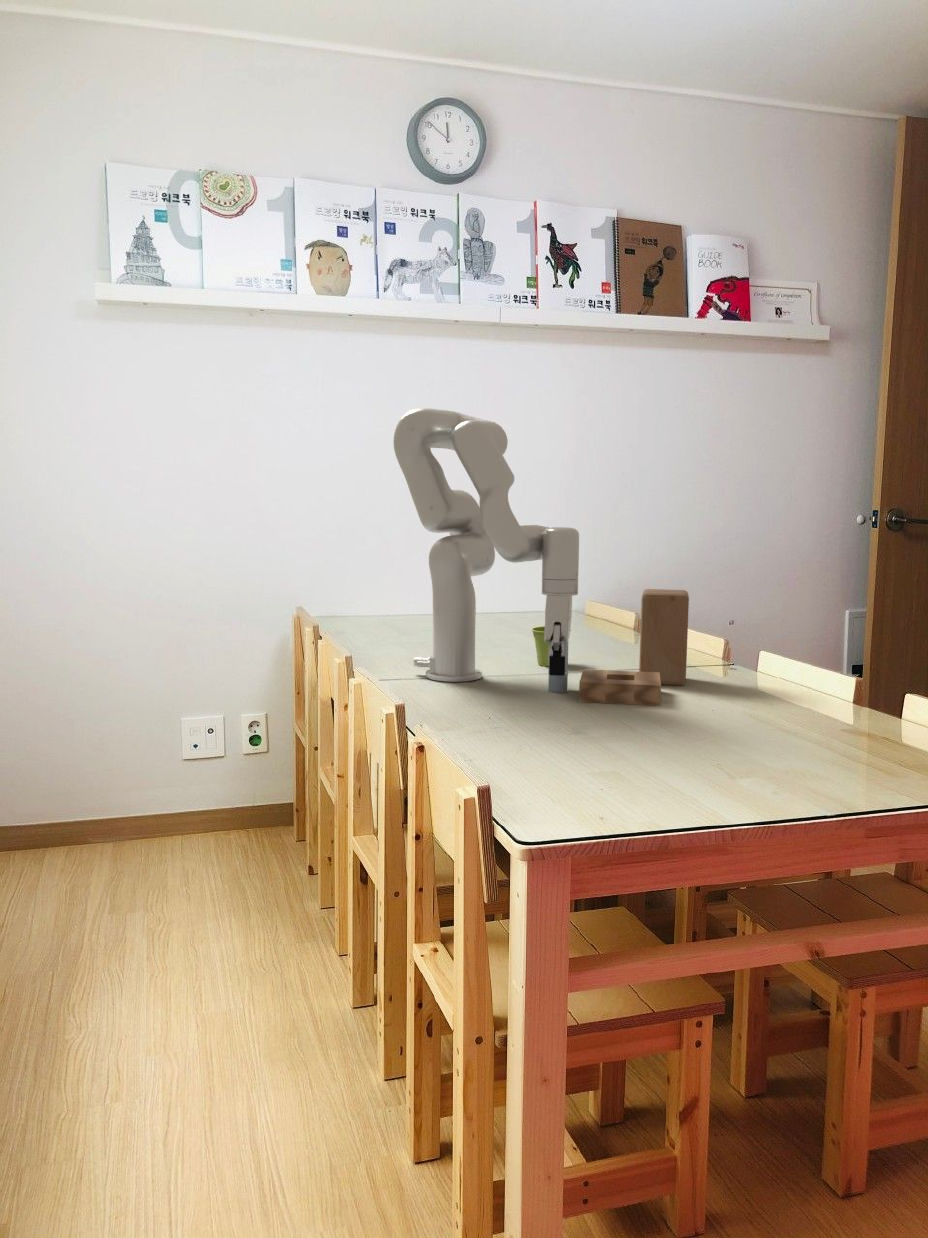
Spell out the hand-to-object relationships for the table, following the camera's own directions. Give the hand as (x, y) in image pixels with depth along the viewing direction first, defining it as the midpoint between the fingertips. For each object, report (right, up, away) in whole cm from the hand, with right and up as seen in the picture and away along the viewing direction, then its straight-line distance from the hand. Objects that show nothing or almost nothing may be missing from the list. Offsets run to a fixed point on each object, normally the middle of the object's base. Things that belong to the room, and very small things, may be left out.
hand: (558, 671), depth 213 cm
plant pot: (+1, 0, +31) cm, 31 cm away
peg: (0, -4, +1) cm, 4 cm away
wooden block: (+24, -3, +12) cm, 27 cm away
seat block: (+12, -5, -4) cm, 14 cm away
